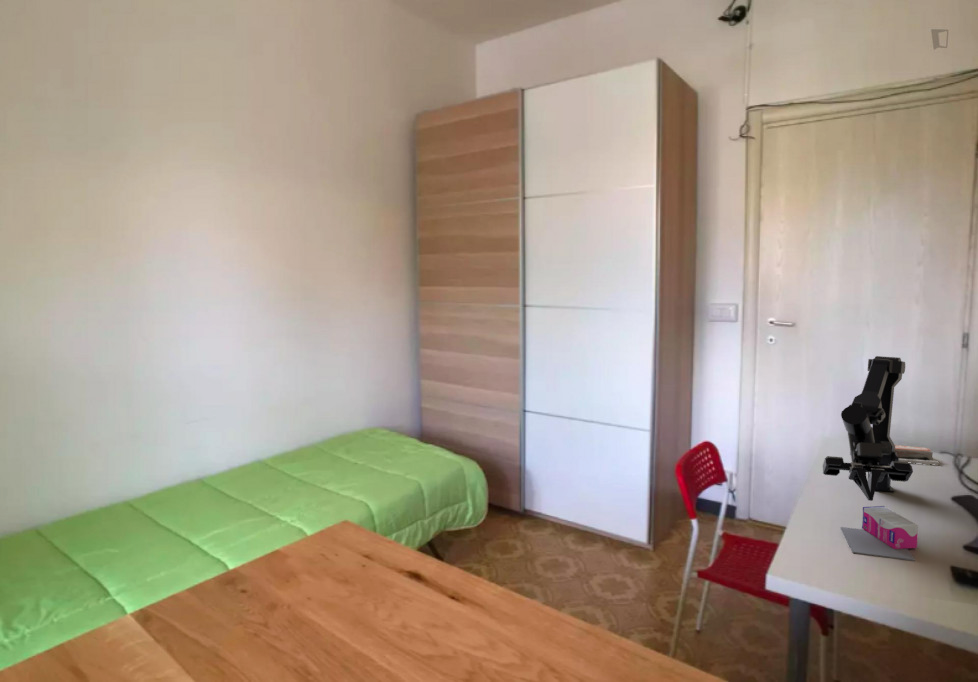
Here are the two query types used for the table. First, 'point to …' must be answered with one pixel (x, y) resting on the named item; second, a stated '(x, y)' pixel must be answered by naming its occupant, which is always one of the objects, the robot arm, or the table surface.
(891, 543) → the supplement box
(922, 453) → the packaged product
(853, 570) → the table surface
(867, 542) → the mat
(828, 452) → the table surface
